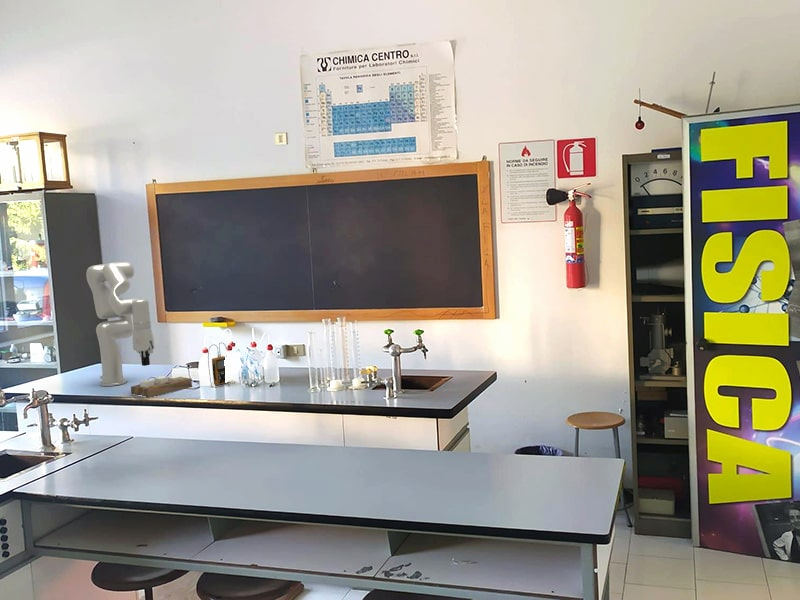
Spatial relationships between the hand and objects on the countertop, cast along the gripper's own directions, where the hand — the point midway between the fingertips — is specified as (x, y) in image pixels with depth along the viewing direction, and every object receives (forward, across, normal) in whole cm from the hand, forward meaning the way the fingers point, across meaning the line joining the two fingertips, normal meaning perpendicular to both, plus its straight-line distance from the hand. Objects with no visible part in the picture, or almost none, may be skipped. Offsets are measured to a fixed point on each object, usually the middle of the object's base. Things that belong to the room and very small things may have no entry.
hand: (145, 365), depth 351 cm
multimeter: (+14, +19, +30) cm, 39 cm away
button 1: (+12, -1, 0) cm, 12 cm away
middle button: (+12, -1, +8) cm, 15 cm away
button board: (+14, -1, +8) cm, 16 cm away
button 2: (+13, -1, +16) cm, 21 cm away
